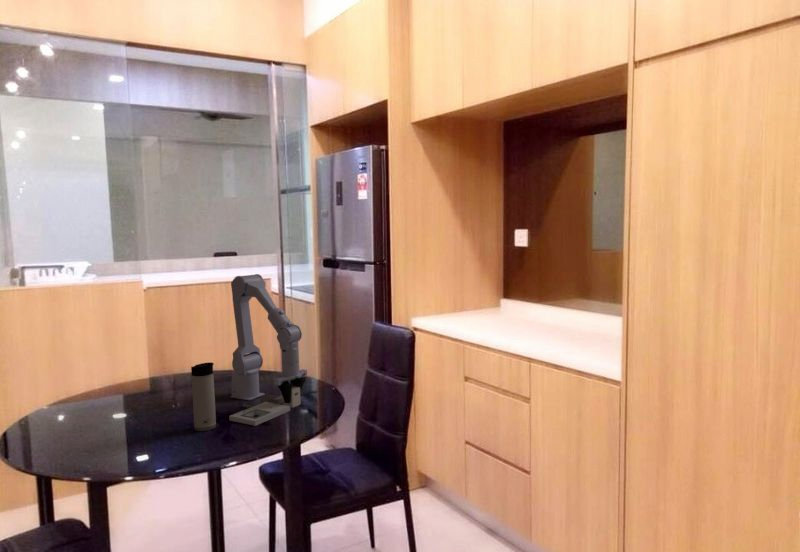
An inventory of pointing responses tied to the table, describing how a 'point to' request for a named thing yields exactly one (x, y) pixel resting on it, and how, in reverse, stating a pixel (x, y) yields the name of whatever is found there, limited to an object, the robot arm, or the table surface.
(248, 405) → the phone
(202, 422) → the travel mug
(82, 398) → the table surface
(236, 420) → the outlet plate
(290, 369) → the robot arm
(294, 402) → the block
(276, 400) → the cable plug
